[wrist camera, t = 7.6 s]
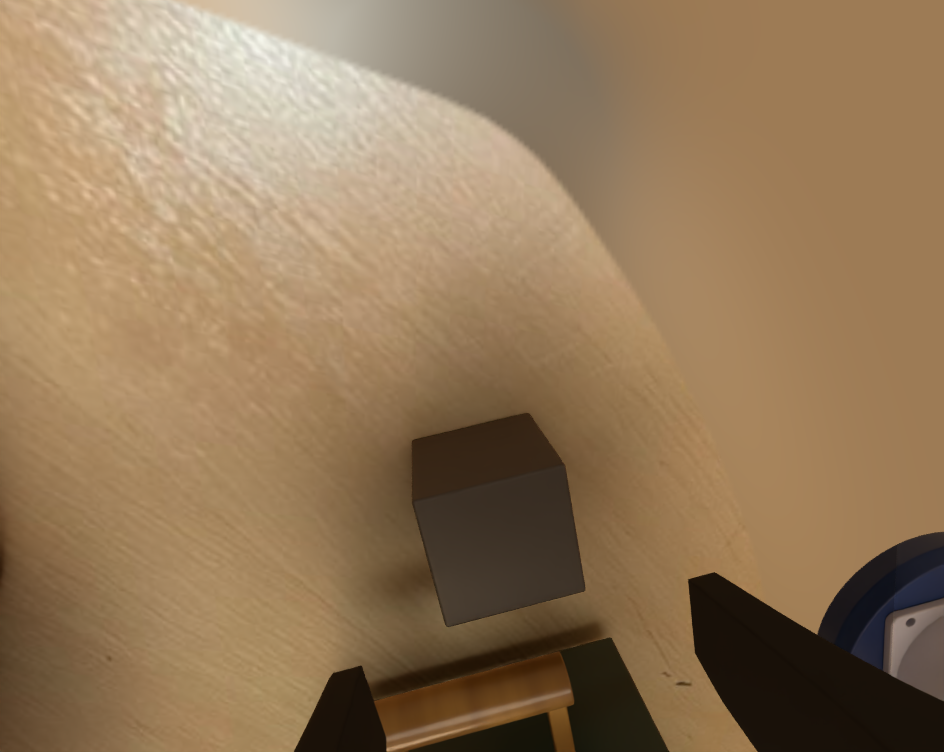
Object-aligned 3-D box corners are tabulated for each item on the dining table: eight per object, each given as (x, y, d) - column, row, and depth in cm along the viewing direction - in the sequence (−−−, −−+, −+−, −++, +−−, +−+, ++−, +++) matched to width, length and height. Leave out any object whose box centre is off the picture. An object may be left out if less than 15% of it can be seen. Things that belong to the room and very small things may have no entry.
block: (529, 411, 18) (565, 463, 14) (548, 515, 19) (586, 592, 15) (411, 439, 18) (411, 501, 13) (438, 542, 19) (445, 629, 15)
